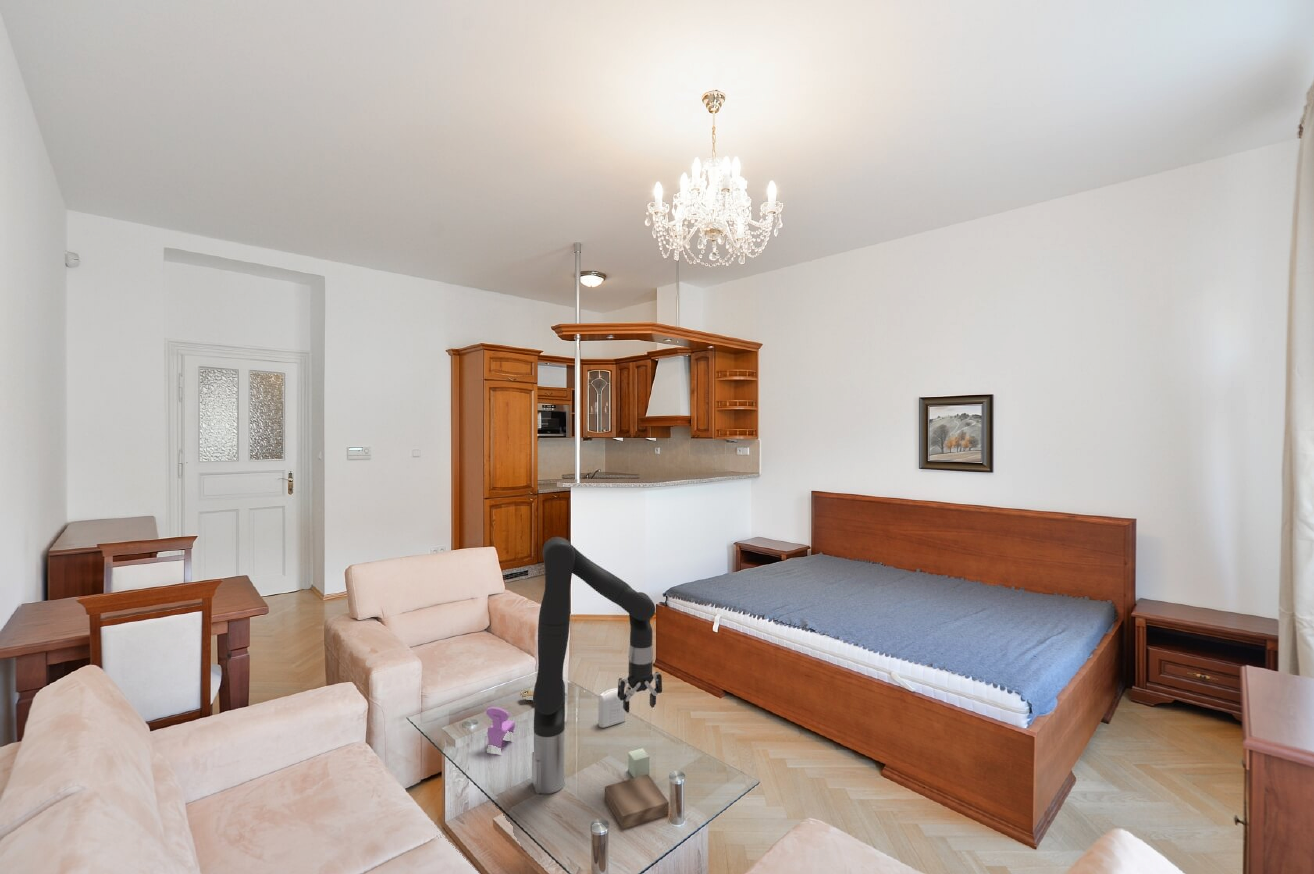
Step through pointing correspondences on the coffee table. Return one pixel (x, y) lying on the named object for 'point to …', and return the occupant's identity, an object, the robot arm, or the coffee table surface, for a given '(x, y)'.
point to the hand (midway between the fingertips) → (639, 708)
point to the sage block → (638, 763)
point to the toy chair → (498, 726)
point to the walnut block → (636, 801)
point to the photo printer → (610, 708)
